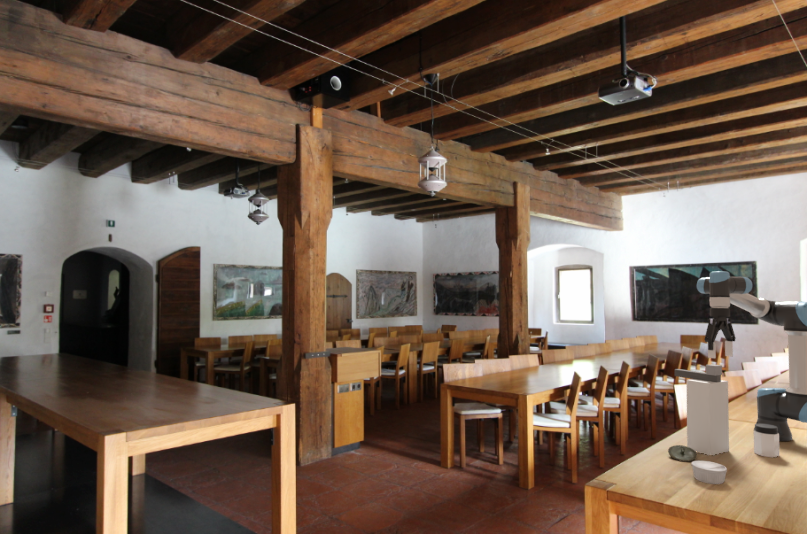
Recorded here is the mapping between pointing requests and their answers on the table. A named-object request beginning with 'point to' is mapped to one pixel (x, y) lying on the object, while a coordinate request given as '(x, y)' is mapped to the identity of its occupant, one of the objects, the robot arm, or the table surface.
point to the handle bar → (711, 373)
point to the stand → (707, 416)
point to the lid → (682, 453)
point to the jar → (766, 440)
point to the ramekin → (709, 472)
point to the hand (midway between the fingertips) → (720, 357)
